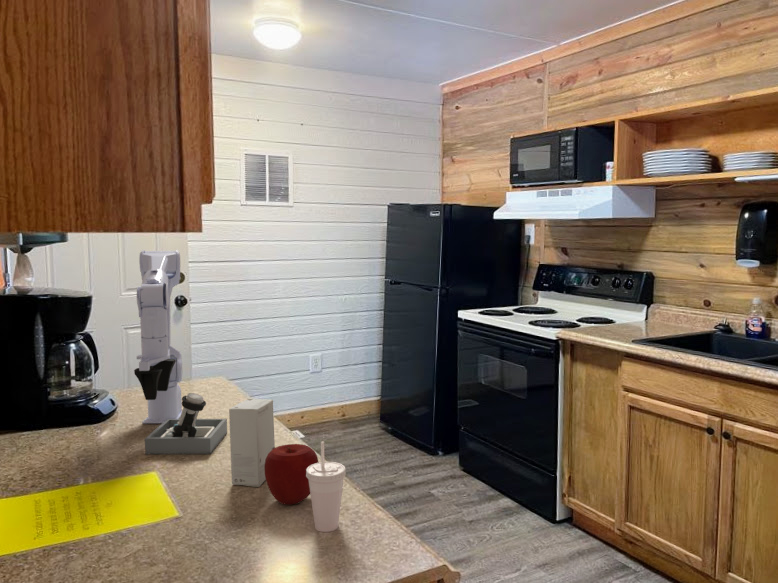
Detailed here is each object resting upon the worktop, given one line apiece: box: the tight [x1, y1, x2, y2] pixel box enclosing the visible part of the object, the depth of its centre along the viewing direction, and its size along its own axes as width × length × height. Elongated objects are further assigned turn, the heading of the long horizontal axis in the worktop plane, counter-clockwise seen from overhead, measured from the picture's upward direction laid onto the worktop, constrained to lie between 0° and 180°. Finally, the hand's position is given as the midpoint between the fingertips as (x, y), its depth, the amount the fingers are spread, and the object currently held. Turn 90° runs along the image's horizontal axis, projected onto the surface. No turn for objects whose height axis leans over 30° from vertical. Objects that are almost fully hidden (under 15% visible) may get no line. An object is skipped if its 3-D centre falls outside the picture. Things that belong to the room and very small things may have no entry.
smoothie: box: [306, 441, 347, 533], centre depth 100 cm, size 6×6×14 cm
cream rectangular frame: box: [161, 427, 215, 437], centre depth 140 cm, size 8×10×2 cm
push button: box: [165, 392, 207, 437], centre depth 139 cm, size 7×5×10 cm
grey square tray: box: [144, 418, 228, 455], centre depth 140 cm, size 14×14×4 cm
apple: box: [264, 443, 320, 506], centre depth 110 cm, size 10×10×10 cm
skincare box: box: [228, 398, 276, 488], centre depth 119 cm, size 8×6×15 cm
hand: (156, 395), depth 142 cm, fingers open, 7 cm apart
